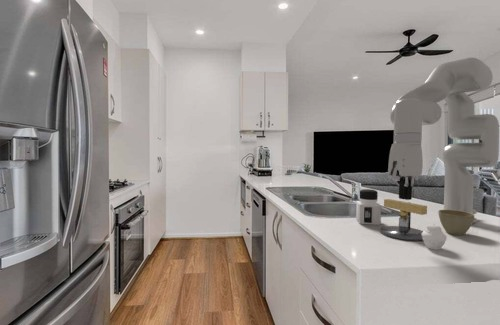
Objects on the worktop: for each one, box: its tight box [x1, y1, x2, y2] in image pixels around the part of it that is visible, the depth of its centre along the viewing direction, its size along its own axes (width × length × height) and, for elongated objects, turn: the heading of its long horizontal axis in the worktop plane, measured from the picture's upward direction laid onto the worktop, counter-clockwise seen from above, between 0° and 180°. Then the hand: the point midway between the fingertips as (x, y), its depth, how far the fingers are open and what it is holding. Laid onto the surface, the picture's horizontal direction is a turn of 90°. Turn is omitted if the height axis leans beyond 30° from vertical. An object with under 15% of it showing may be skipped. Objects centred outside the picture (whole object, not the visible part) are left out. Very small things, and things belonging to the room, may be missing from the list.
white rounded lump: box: [422, 224, 447, 251], centre depth 80 cm, size 6×6×7 cm
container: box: [355, 188, 382, 226], centre depth 110 cm, size 8×8×13 cm
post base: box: [380, 201, 424, 242], centre depth 93 cm, size 14×14×10 cm
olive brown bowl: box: [437, 209, 475, 236], centre depth 95 cm, size 10×10×7 cm
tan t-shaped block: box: [383, 198, 428, 218], centre depth 93 cm, size 2×14×5 cm, turn 24°
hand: (405, 198), depth 86 cm, fingers closed
